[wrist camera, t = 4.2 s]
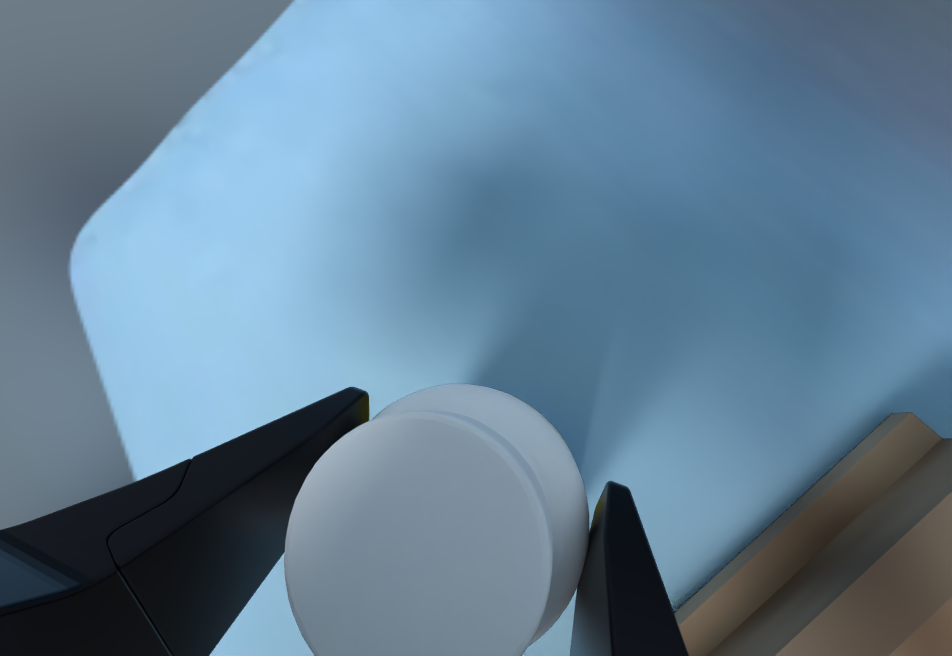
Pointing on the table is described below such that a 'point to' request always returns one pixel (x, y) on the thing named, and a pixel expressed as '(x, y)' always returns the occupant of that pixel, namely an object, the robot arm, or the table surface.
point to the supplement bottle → (438, 530)
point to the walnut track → (844, 562)
